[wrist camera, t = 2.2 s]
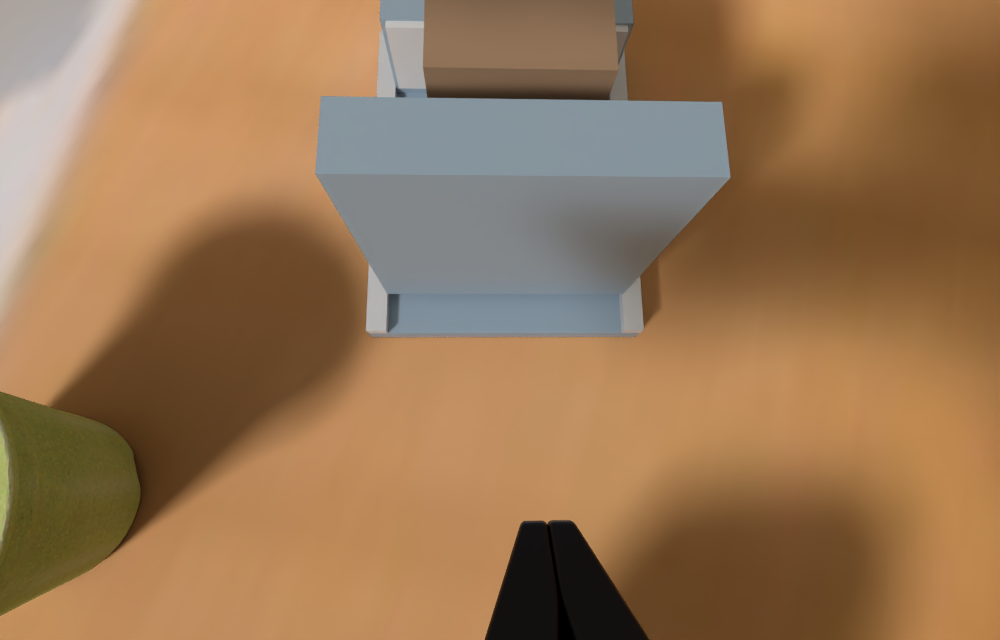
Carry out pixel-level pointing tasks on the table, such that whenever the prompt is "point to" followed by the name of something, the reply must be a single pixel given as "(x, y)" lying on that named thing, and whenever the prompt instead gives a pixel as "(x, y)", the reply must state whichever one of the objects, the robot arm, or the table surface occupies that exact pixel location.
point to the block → (520, 49)
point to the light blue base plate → (499, 310)
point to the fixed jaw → (407, 36)
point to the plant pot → (58, 497)
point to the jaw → (517, 188)
